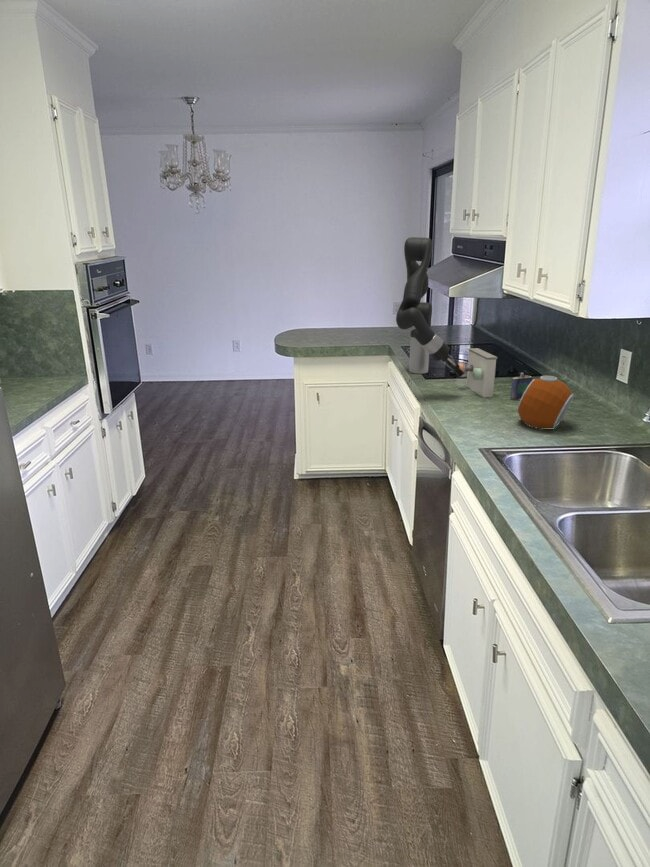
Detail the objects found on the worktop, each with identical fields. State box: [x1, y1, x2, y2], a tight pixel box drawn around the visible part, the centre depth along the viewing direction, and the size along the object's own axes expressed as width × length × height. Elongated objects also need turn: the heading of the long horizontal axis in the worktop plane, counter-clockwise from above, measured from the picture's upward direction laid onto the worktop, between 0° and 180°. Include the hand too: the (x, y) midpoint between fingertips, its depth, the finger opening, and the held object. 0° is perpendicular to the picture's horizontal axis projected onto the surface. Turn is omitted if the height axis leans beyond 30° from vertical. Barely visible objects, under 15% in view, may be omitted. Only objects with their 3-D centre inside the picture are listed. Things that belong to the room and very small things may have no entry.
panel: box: [465, 347, 498, 398], centre depth 247 cm, size 19×4×17 cm, turn 10°
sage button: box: [472, 368, 483, 380], centre depth 242 cm, size 5×8×5 cm, turn 100°
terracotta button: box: [457, 362, 473, 376], centre depth 250 cm, size 5×8×5 cm, turn 100°
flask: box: [509, 372, 533, 400], centre depth 238 cm, size 9×3×11 cm, turn 109°
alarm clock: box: [516, 375, 575, 429], centre depth 206 cm, size 19×18×17 cm
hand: (461, 374), depth 240 cm, fingers closed
